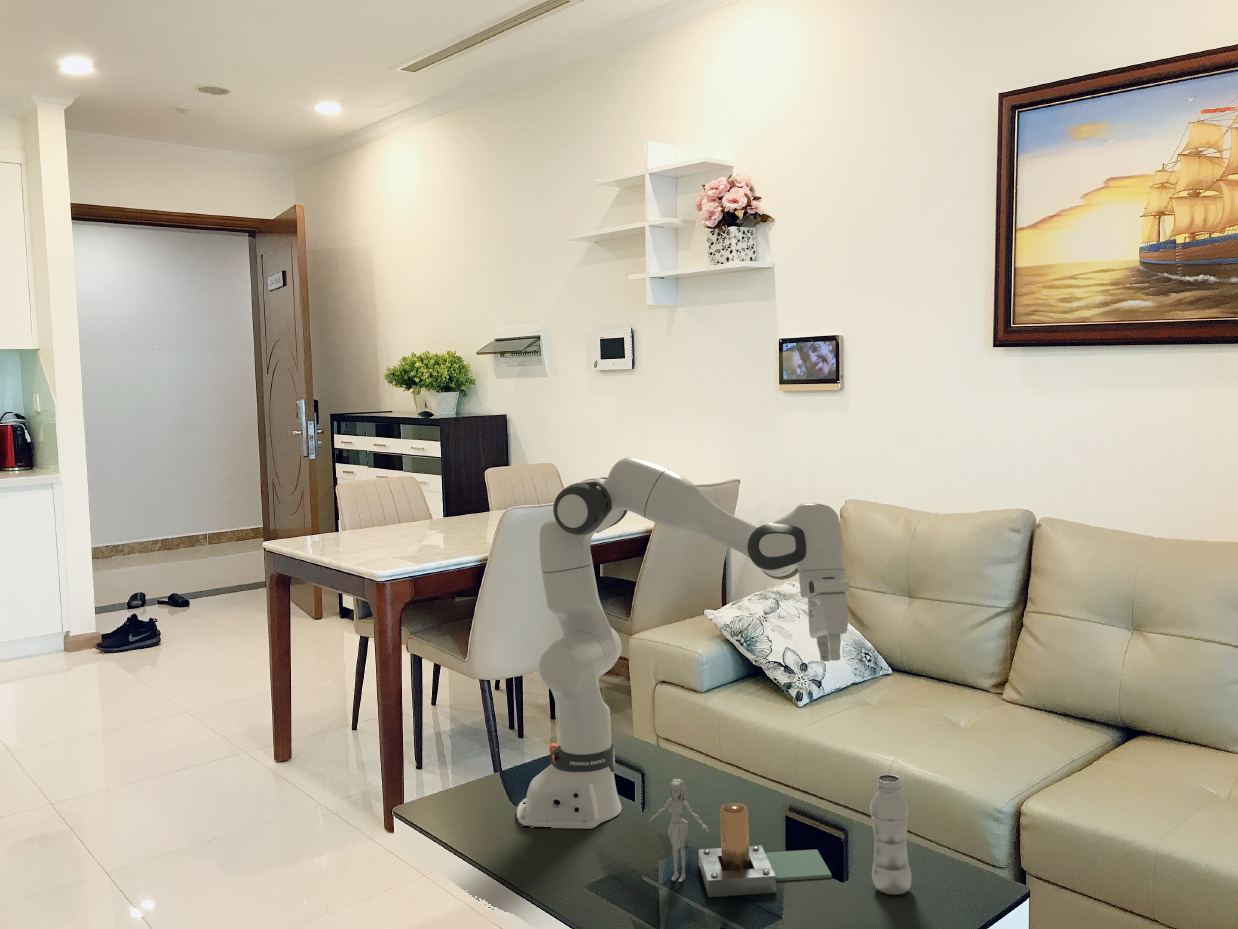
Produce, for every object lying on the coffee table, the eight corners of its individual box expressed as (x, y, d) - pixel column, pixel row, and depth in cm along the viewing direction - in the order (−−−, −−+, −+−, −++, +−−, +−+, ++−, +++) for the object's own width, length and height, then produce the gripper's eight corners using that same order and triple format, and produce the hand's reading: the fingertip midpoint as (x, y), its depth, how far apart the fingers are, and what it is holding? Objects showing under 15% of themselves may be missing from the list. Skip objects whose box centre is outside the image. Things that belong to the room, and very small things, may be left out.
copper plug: (724, 886, 172) (722, 813, 172) (720, 873, 177) (717, 802, 177) (752, 884, 173) (750, 811, 172) (747, 871, 178) (745, 800, 177)
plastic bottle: (913, 901, 165) (911, 786, 164) (872, 898, 166) (869, 785, 165) (910, 882, 171) (907, 772, 170) (870, 880, 172) (867, 770, 171)
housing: (708, 897, 169) (707, 878, 169) (698, 865, 181) (698, 847, 181) (776, 892, 169) (775, 873, 169) (762, 861, 181) (761, 843, 181)
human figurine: (646, 875, 178) (642, 779, 177) (654, 866, 181) (651, 772, 180) (707, 887, 172) (703, 789, 171) (714, 878, 176) (711, 781, 175)
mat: (776, 881, 173) (776, 878, 173) (765, 855, 183) (765, 852, 183) (831, 877, 174) (831, 874, 174) (817, 852, 184) (817, 849, 184)
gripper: (798, 592, 194) (804, 662, 191) (816, 582, 174) (822, 660, 171) (829, 591, 194) (836, 661, 191) (851, 581, 174) (858, 659, 171)
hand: (830, 661), depth 181 cm, fingers open, 8 cm apart
